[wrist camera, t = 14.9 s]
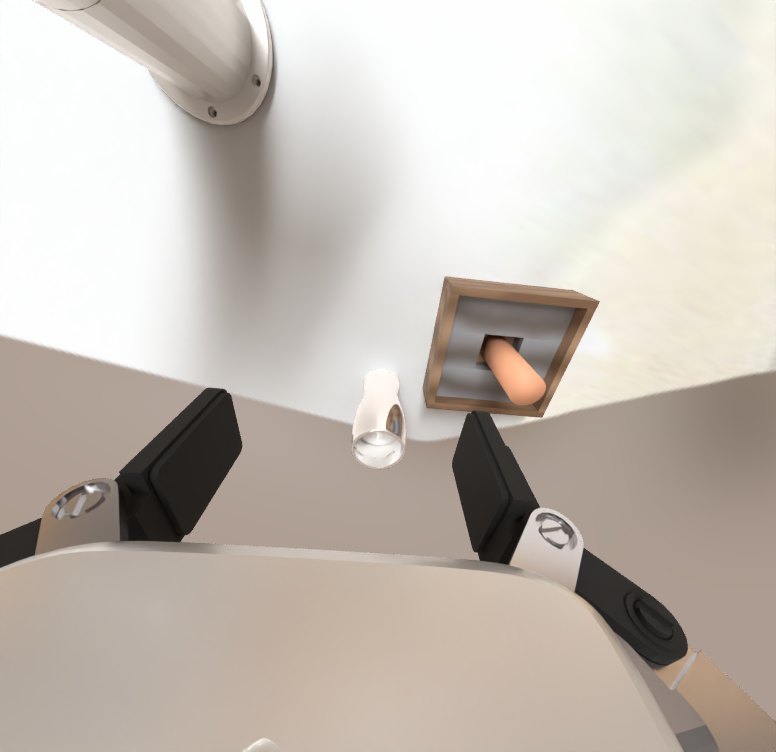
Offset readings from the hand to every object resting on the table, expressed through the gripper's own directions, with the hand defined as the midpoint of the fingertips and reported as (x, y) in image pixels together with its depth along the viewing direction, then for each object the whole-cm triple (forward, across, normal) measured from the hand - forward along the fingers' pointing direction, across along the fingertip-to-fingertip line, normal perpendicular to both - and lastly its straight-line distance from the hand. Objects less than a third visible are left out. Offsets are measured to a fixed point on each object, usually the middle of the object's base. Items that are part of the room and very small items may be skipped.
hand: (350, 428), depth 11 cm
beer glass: (+31, -2, +17) cm, 35 cm away
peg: (+29, -18, +8) cm, 35 cm away
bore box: (+30, -18, +8) cm, 36 cm away
